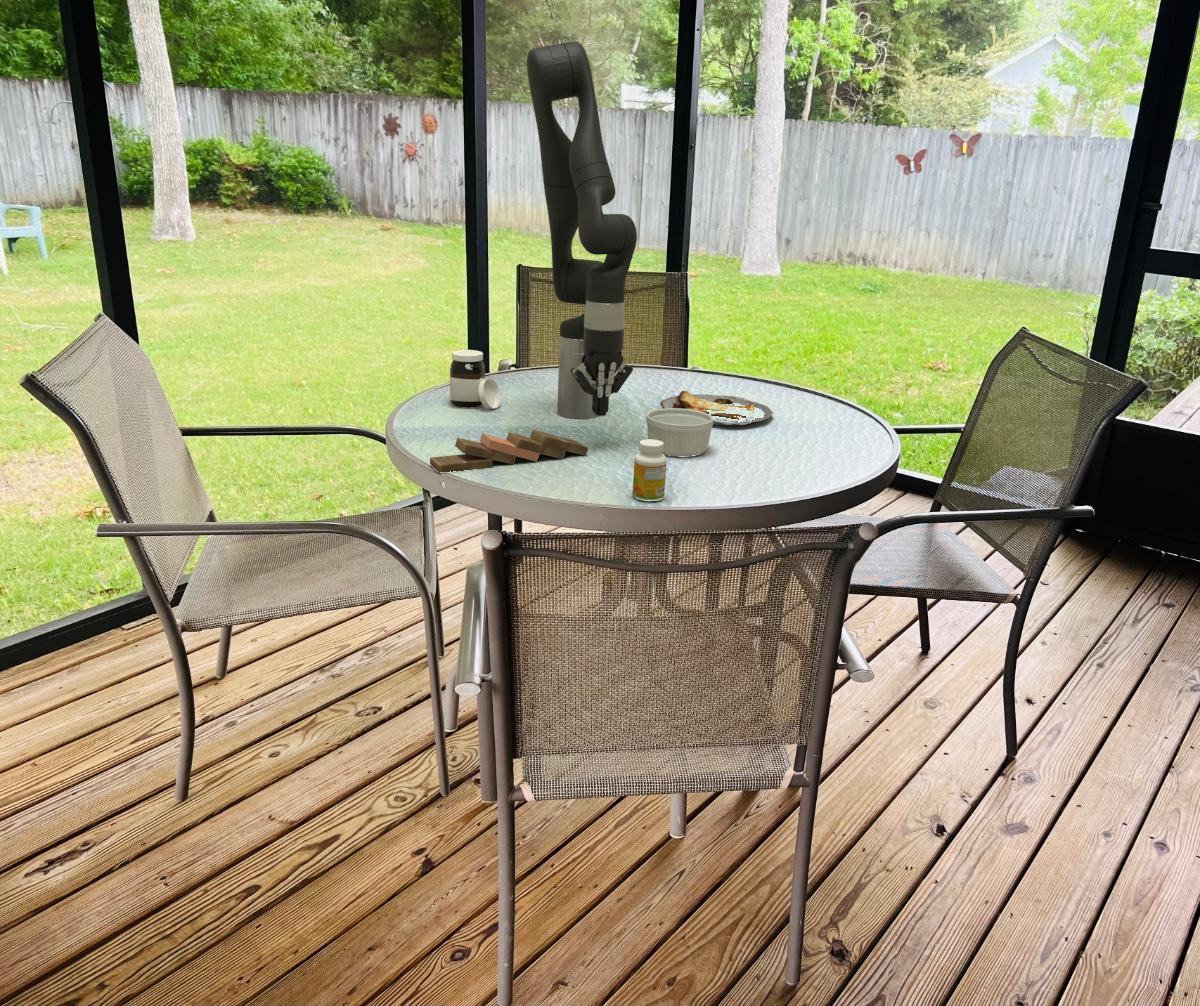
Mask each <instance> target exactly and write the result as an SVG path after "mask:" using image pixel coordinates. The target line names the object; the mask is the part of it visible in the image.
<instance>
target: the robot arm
mask: <svg viewBox="0 0 1200 1006" xmlns="http://www.w3.org/2000/svg"><path fill="white" fill-rule="evenodd" d="M526 71H527V79H528V85H529V90H530V95H531V97H530V98H531V102H532V107H533V112H534V117H535V123H536V129H537V135H538V142H539V151H540V161H541V172H542V181H543V190H544V197H545V202H546V209H547V214H548V215H547V216H548V223H549V232H550V241H551V242H550V244H551V266H552V283H553V289H554V294H555V296H556V298H557V300H559V302H562V303H567V304H576V305H577V304H578V305H585V307H584V312H583V313H581V314H580V315H579V316H576V317H572V318H569V319H565V320H563V321H561V323H560V325H559V339H558V340H559V344H558V345H559V346H558V349H559V350H558V352H559V353H558V375H557V376H558V379H557V403H556V404H557V405H556V406H557V408H556V409H557V410H556V411H557V412H556V413H557V414H558V415H559V416H561V417H565V418H570V419H591V418H595V417H603V416H604V417H605V416H606V415H607V413H608V411H609V406H610V405H609V402H610V401H609V400H610V396H611V395H613V394H617V393H619V391H620V390H621V389H622V387H623V386H624V384H625V383H626V381H627V380H628V379H629V377H630V375H632V372H633V370H634V368H633V366H631V365H628V364H627V363H626V362H625V359H624V356H623V353H622V351H623V350H624V340H625V339H624V337H625V317H626V315H625V314H626V311H625V291H626V279H627V276H628V273H629V269H630V267H631V262H632V259H633V257H634V254H635V249H636V246H637V240H638V235H637V233H638V232H637V227H636V225H635V222H634V220H633V219H632V217H631V216H629V215H628V214H624V213H604V212H603V206H605V205H608V204H609V203H611V202H612V201H613V200H614V199H615V196H616V186H615V183H614V179H613V175H612V172H611V169H610V165H609V162H608V159H607V156H606V151H605V146H604V141H603V136H602V129H601V122H600V117H599V110H598V102H597V98H596V97H597V96H596V92H595V91H596V90H595V85H594V80H593V79H594V78H593V74H592V69H591V64H590V60H589V57H588V55H587V52H586V50H585V47H584V46H583V45H582V43H580V42H579V41H567V42H561V43H555V44H550V45H545V46H540V47H535V48H531V49H530V50H529V52H528V53H527V56H526ZM570 98H577V101H578V108H579V109H578V110H579V111H578V120H577V124H576V128H575V131H574V134H573V138H572V140H571V139H570V138H569V137H568V135H567V134H566V132H564V130H563V128H562V127H561V125H560V124H559V122H558V121H557V118H556V116H555V113H554V109H553V102H554V101H560V100H565V99H570ZM577 231H578V237H579V241H580V244H581V246H582V247H583V248H584V249H585V251H586V252H587V253H589V254H591V255H596V256H597V255H599V256H600V255H605V259H604V261H600V260H593V259H592V260H591V259H582V258H574V256H573V252H572V251H573V248H572V247H573V239H574V238H575V235H576V232H577Z"/></svg>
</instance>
